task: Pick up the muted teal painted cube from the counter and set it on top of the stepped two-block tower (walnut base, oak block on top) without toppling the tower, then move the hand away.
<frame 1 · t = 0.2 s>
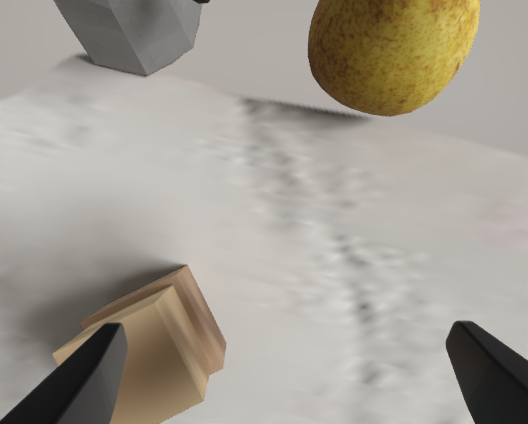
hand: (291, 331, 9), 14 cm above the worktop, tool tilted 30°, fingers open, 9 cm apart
coffeepot: (150, 20, 24), on the worktop
tower top: (152, 343, 20), point 4 cm above the worktop
fruit: (362, 67, 24), on the worktop
tower base: (167, 323, 24), on the worktop
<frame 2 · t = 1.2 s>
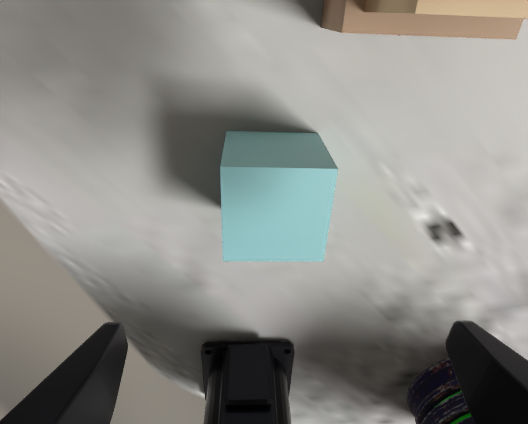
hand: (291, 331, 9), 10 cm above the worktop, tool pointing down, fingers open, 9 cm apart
storage jar: (464, 386, 29), on the worktop
teal cube: (270, 173, 18), on the worktop
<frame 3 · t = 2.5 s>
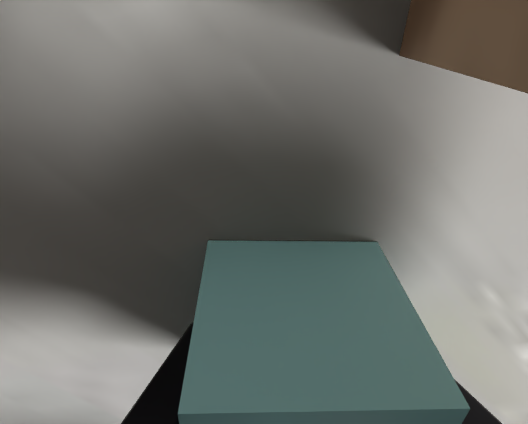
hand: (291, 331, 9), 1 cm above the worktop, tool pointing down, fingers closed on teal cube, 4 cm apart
teal cube: (287, 303, 10), on the worktop, touching gripper
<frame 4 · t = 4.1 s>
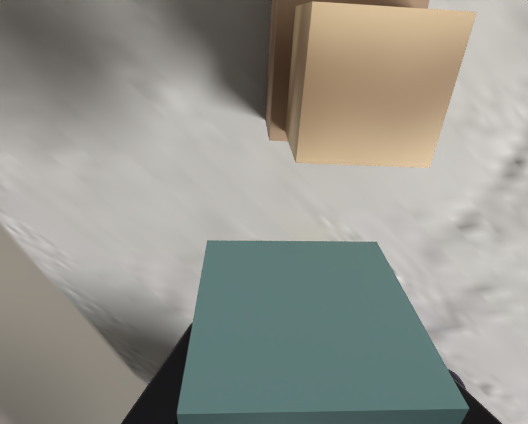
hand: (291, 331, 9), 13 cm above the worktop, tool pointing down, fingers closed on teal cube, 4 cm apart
teal cube: (287, 303, 10), point 12 cm above the worktop, touching gripper
tower top: (347, 77, 15), point 4 cm above the worktop
tower base: (324, 64, 18), on the worktop
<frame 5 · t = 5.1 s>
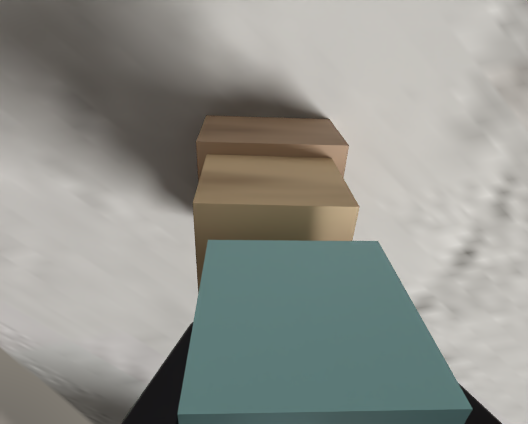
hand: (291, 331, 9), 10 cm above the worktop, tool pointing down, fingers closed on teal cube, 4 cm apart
teal cube: (287, 303, 10), point 9 cm above the worktop, touching gripper
tower top: (266, 210, 15), point 4 cm above the worktop
tower base: (265, 172, 19), on the worktop
when the fingers open (10 cm above the worktop, at t = 5.4 s): teal cube drops 1 cm, resting on tower top.
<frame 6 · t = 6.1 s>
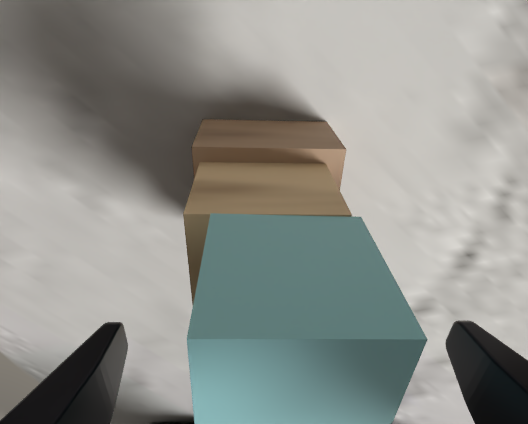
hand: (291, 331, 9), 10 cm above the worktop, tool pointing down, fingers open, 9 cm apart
teal cube: (281, 273, 11), point 8 cm above the worktop, touching tower top
tower top: (261, 216, 15), point 4 cm above the worktop, touching teal cube, tower base
tower base: (263, 176, 18), on the worktop, touching tower top
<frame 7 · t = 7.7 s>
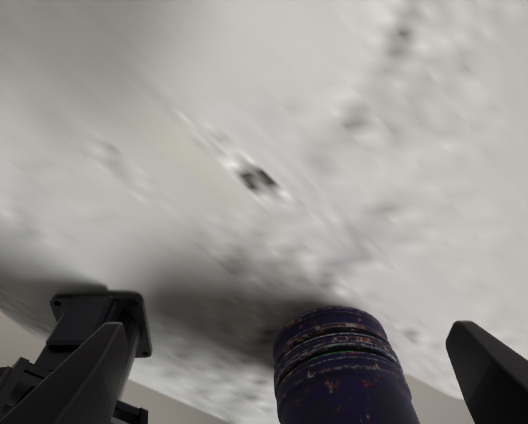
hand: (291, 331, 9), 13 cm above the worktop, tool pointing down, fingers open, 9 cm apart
storage jar: (328, 345, 30), on the worktop
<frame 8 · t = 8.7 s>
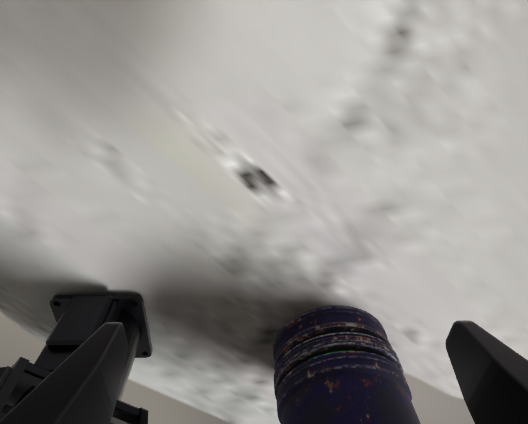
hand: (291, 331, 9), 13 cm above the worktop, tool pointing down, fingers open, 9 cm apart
storage jar: (328, 345, 30), on the worktop
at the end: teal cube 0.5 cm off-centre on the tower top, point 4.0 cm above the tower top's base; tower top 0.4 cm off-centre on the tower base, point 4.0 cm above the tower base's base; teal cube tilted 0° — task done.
